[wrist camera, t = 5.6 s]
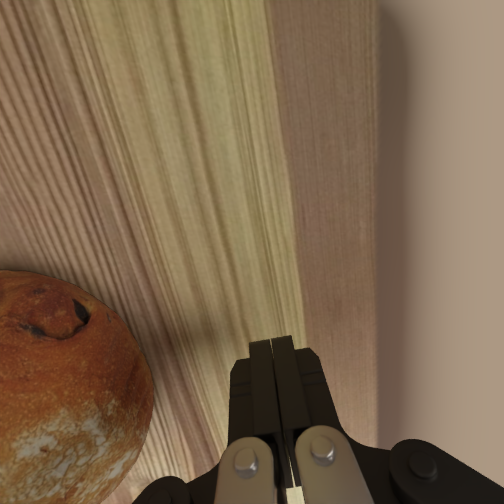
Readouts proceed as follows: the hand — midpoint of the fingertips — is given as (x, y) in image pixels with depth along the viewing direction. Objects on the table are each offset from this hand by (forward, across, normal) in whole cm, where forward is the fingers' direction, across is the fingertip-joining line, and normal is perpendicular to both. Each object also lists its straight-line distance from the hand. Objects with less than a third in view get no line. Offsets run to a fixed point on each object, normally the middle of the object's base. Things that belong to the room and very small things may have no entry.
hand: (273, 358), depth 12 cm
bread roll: (+2, +10, 0) cm, 10 cm away
